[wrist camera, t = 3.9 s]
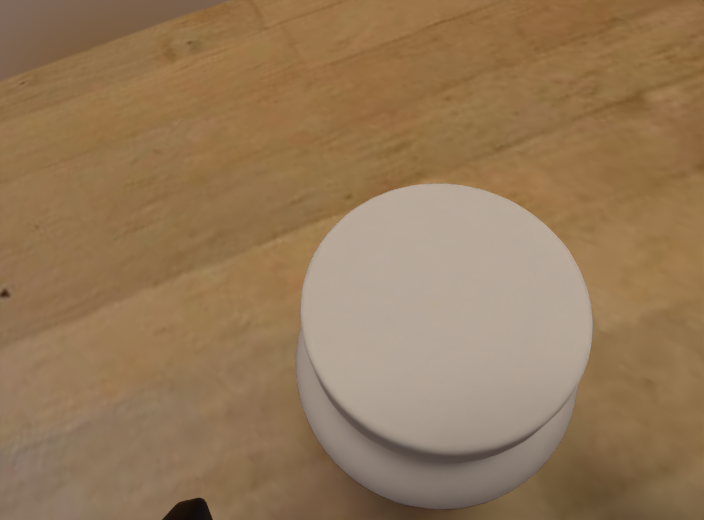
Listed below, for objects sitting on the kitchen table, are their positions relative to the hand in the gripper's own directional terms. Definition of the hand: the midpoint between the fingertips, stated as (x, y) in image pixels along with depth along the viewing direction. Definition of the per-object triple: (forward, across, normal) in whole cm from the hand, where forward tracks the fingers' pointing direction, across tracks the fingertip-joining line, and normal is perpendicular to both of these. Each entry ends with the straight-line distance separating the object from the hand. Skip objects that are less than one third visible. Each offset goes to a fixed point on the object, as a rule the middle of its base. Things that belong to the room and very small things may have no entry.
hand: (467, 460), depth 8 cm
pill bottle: (+8, 0, +5) cm, 10 cm away
